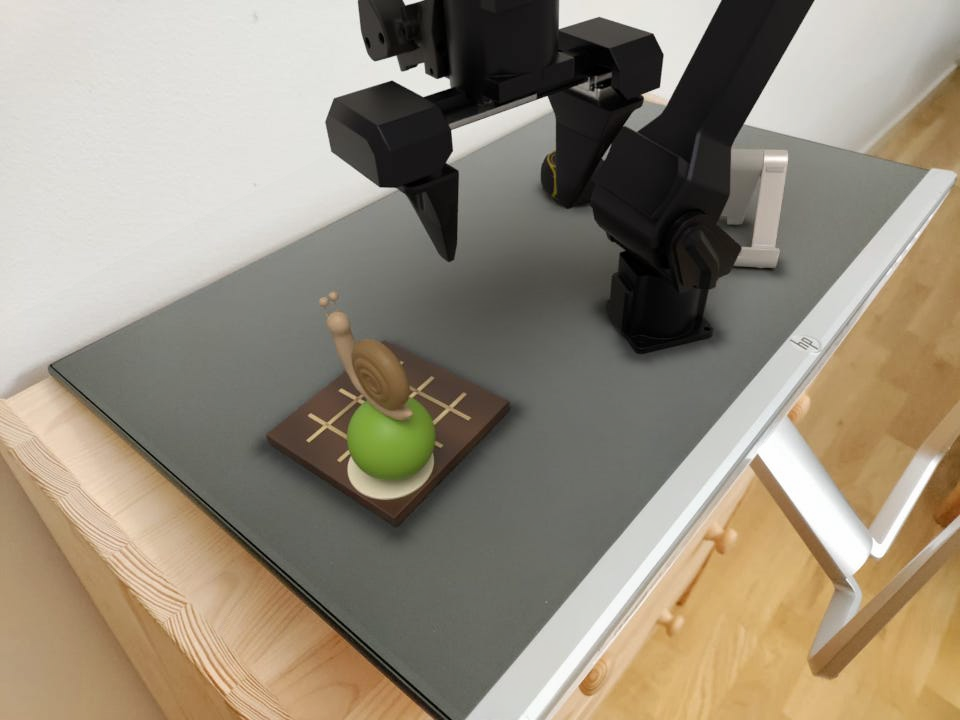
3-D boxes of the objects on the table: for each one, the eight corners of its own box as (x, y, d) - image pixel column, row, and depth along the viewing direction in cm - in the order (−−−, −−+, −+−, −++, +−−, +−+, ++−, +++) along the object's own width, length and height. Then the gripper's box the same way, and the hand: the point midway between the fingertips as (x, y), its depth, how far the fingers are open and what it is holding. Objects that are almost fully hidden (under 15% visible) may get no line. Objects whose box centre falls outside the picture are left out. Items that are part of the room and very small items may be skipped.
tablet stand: (670, 267, 62) (684, 180, 56) (668, 220, 68) (680, 137, 62) (774, 273, 60) (798, 184, 55) (763, 224, 66) (784, 139, 61)
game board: (386, 349, 56) (384, 338, 55) (509, 410, 50) (509, 400, 49) (268, 444, 49) (264, 433, 48) (396, 527, 43) (393, 517, 43)
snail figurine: (391, 414, 49) (362, 271, 41) (456, 461, 45) (439, 315, 37) (328, 460, 46) (284, 316, 38) (393, 514, 43) (359, 368, 35)
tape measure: (619, 201, 71) (622, 167, 68) (555, 215, 70) (556, 180, 67) (590, 172, 76) (592, 138, 73) (530, 184, 74) (530, 150, 72)
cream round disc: (425, 433, 49) (423, 422, 48) (444, 496, 45) (442, 485, 44) (345, 453, 48) (342, 442, 47) (357, 519, 44) (353, 507, 43)
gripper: (543, -106, 42) (542, 143, 52) (246, -46, 34) (314, 231, 45) (687, -82, 35) (653, 199, 45) (355, 0, 27) (405, 315, 38)
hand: (508, 231), depth 44 cm, fingers open, 9 cm apart
